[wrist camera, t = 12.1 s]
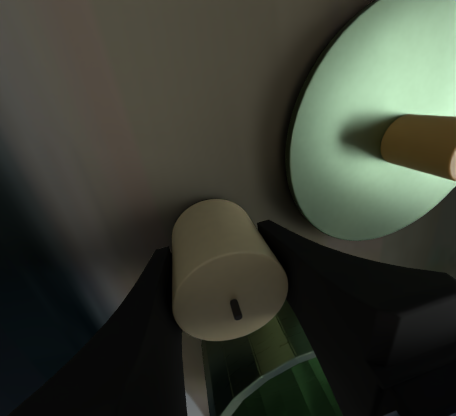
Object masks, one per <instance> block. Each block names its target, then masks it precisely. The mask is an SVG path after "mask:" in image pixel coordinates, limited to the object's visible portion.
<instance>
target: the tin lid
mask: <svg viewBox="0 0 456 416" xmlns="http://www.w3.org/2000/svg"><path fill="white" fill-rule="evenodd" d="M285 165H286V174H287V181H288V185H289V189H290V192H291V195H292V197H293V200H294V202H295V204H296V206H297V207H298V209H299V211H300V212H301V214H302V215H303V216H304V217H305V218H306V219H307V220H308V221H309V222H310V223H311V224H312V225H313V226H315V227H316V228H317V229H318V230H320V231H321V232H323V233H325V234H327V235H329V236H332V237H335V238H338V239H343V240H349V241H361V240H370V239H374V238H379V237H382V236H385V235H388V234H391V233H393V232H395V231H398V230H400V229H402V228H404V227H406V226H407V225H409V224H411V223H413V222H414V221H416V220H417V219H419V218H420V217H422V216H423V215H424V214H426V213H427V212H428V211H429V210H431V209H432V208H433V207H434V206H436V205H437V204H438V203H439V202H440V201H441V200H442V199H443V198H444V197H445V196H446V195H447V194H448V193H449V192H450V191H451V190H452V189H453V188H454V187H455V186H456V0H376V1H374V2H372V3H371V4H369V5H368V6H366V7H365V8H364V9H363V10H361V11H360V12H359V13H358V14H357V15H355V16H354V17H353V18H352V19H351V20H350V21H349V22H348V23H347V24H346V25H345V26H344V27H343V28H342V29H341V30H340V31H339V32H338V33H337V34H336V35H335V36H334V38H333V39H332V40H331V41H330V43H329V44H328V45H327V46H326V48H325V49H324V50H323V52H322V53H321V54H320V56H319V58H318V59H317V61H316V62H315V64H314V66H313V67H312V69H311V70H310V72H309V74H308V76H307V78H306V80H305V82H304V84H303V86H302V88H301V90H300V93H299V95H298V98H297V101H296V104H295V106H294V109H293V112H292V116H291V120H290V124H289V128H288V134H287V141H286V155H285Z"/></svg>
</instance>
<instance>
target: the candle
mask: <svg viewBox="0 0 456 416" xmlns="http://www.w3.org/2000/svg"><path fill="white" fill-rule="evenodd" d="M287 292H288V278H287V275H286V272H285V270H284V269H283V267H282V265H281V264H280V262H279V261H278V259H277V258H276V256H275V255H274V254H273V252H272V251H271V249H270V248H269V246H268V245H267V243H266V242H265V240H264V239H263V237H262V236H261V234H260V233H259V231H258V230H257V228H256V227H255V225H254V224H253V222H252V221H251V219H250V218H249V216H248V215H247V213H246V212H245V211H244V210H243V209H242V208H241V207H240V206H238V205H237V204H235V203H233V202H231V201H228V200H223V199H209V200H204V201H201V202H198V203H196V204H194V205H192V206H191V207H189V208H188V209H187V210H185V211H184V212H183V213H182V214H181V215H180V217H179V218H178V219H177V221H176V223H175V225H174V228H173V232H172V313H173V316H174V319H175V321H176V322H177V324H178V325H179V327H180V328H181V329H182V330H183V331H184V332H186V333H187V334H189V335H191V336H193V337H195V338H198V339H202V340H207V341H225V340H231V339H236V338H239V337H242V336H245V335H248V334H250V333H252V332H254V331H256V330H258V329H259V328H261V327H262V326H264V325H265V324H266V323H268V322H269V321H270V320H271V319H272V318H273V317H274V316H275V315H276V314H277V313H278V311H279V310H280V309H281V307H282V305H283V304H284V302H285V299H286V296H287Z"/></svg>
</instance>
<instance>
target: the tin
mask: <svg viewBox="0 0 456 416" xmlns="http://www.w3.org/2000/svg"><path fill="white" fill-rule="evenodd" d="M201 347H202V355H203V364H204V372H205V380H206V388H207V397H208V405H209V413H210V416H343V414H342V412H341V410H340V408H339V405H338V403H337V401H336V399H335V396H334V394H333V392H332V390H331V387H330V385H329V383H328V381H327V379H326V376H325V374H324V372H323V370H322V368H321V366H320V363H319V361H318V359H317V357H316V355H315V353H314V351H313V349H312V347H311V345H310V343H309V341H308V338H307V336H306V334H305V332H304V331H303V329H302V327H301V325H300V323H299V321H298V319H297V317H296V315H295V313H294V311H293V310H292V308H291V306H290V305H289V303H288V302H287V300H286V299H285V302H284V304H283V305H282V307H281V309H280V310H279V311H278V313H277V314H276V315H275V316H274V317H273V318H272V319H271V320H270V321H269V322H268V323H266V324H265V325H264V326H262V327H261V328H259V329H258V330H256V331H254V332H252V333H250V334H248V335H245V336H242V337H239V338H236V339H231V340H225V341H207V340H202V344H201Z"/></svg>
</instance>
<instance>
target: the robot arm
mask: <svg viewBox="0 0 456 416" xmlns="http://www.w3.org/2000/svg"><path fill="white" fill-rule="evenodd" d="M257 225H258V231H259V233H260V234H261V236H262V237H263V239H264V240H265V242H266V243H267V245H268V246H269V248H270V249H271V251H272V252H273V254H274V255H275V256H276V258H277V259H278V261H279V262H280V264H281V265H282V267H283V269H284V270H285V272H286V275H287V278H288V292H287V296H286V300H287V302H288V303H289V305H290V306H291V308H292V310H293V311H294V313H295V315H296V317H297V319H298V321H299V323H300V325H301V327H302V329H303V331H304V332H305V334H306V336H307V338H308V341H309V343H310V345H311V347H312V349H313V351H314V353H315V355H316V357H317V359H318V361H319V363H320V366H321V368H322V370H323V372H324V374H325V376H326V379H327V381H328V383H329V385H330V387H331V390H332V392H333V394H334V396H335V399H336V401H337V403H338V405H339V408H340V410H341V412H342V414H343V416H456V279H455V278H453V277H452V276H450V275H448V274H447V273H442V272H435V271H428V270H420V269H413V268H406V267H401V266H396V265H390V264H385V263H380V262H376V261H372V260H368V259H364V258H360V257H356V256H352V255H349V254H346V253H342V252H340V251H337V250H334V249H331V248H328V247H325V246H323V245H320V244H318V243H315V242H313V241H311V240H308V239H306V238H304V237H302V236H300V235H298V234H295V233H293V232H291V231H290V230H288V229H286V228H284V227H282V226H280V225H278V224H276V223H274V222H272V221H270V220H266V221H262V222H259V223H257ZM8 416H187V407H186V396H185V386H184V374H183V362H182V329H181V328H180V327H179V325H178V324H177V322H176V321H175V319H174V316H173V313H172V254H171V251H170V248H169V246H168V247H164V248H160V249H156V250H155V252H154V253H153V255H152V257H151V259H150V260H149V262H148V264H147V265H146V267H145V269H144V271H143V272H142V274H141V275H140V277H139V279H138V280H137V282H136V283H135V285H134V286H133V288H132V289H131V291H130V292H129V294H128V295H127V297H126V298H125V299H124V301H123V302H122V304H121V305H120V306H119V307H118V309H117V310H116V311H115V312H114V314H113V315H112V316H111V317H110V318H109V320H108V321H107V322H106V323H105V324H104V325H103V327H102V328H101V329H100V330H99V331H98V332H97V333H96V334H95V335H94V336H93V337H92V338H91V339H90V340H89V342H88V343H87V344H86V345H85V346H84V347H83V348H82V349H81V350H80V351H79V352H78V353H77V354H76V355H75V356H74V357H73V358H72V359H71V360H70V361H69V362H68V363H67V364H66V365H64V366H63V367H62V368H61V369H60V370H59V371H58V372H57V373H56V374H55V375H54V376H53V377H52V378H50V379H49V380H48V381H47V382H46V383H45V384H44V385H43V386H42V387H40V388H39V389H38V390H37V391H36V392H35V393H33V394H32V395H31V396H30V397H29V398H28V399H26V400H25V401H24V402H23V403H22V404H21V405H19V406H18V407H17V408H16V409H15V410H13V411H12V412H11V413H10V414H9V415H8Z"/></svg>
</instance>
